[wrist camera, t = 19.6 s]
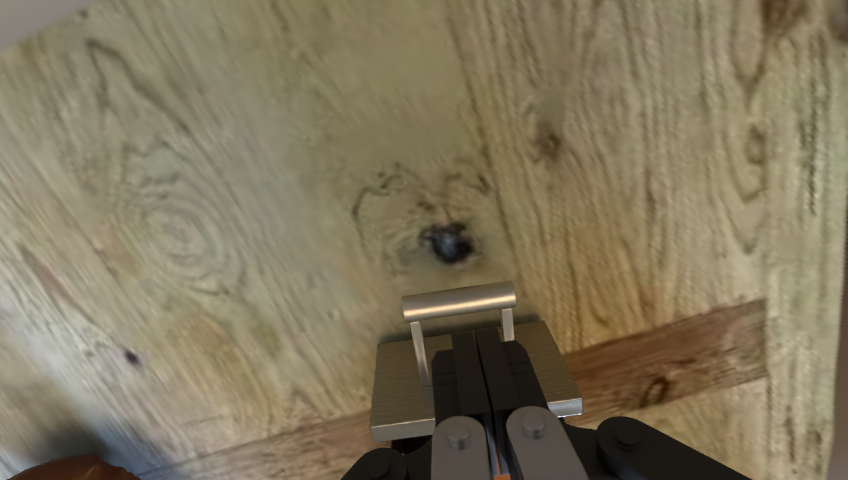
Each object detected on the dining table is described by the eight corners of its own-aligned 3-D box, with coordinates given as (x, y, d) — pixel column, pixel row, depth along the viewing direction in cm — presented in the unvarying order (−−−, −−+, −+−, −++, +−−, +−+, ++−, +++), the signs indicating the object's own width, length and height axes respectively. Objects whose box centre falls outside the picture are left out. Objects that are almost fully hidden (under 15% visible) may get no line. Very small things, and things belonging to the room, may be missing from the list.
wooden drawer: (359, 267, 28) (344, 336, 22) (540, 240, 28) (582, 301, 21) (409, 481, 36) (409, 580, 29) (551, 461, 36) (584, 558, 29)
